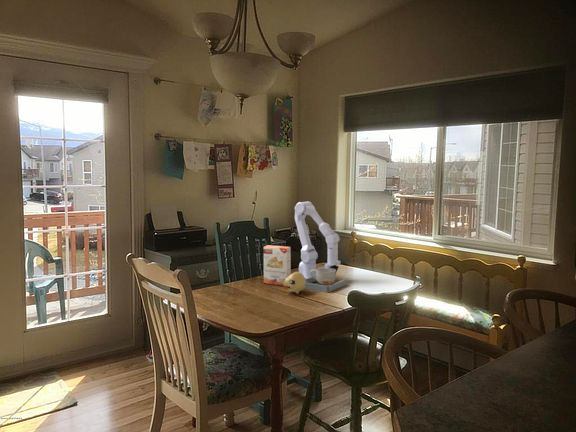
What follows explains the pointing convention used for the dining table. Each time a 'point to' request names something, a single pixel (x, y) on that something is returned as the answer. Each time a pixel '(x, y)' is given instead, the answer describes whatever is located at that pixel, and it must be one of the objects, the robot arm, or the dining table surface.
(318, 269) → the teacup
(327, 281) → the walnut block
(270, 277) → the cracker box
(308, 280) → the gray open frame
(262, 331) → the dining table surface
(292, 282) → the yellow lumpy rounded piece
